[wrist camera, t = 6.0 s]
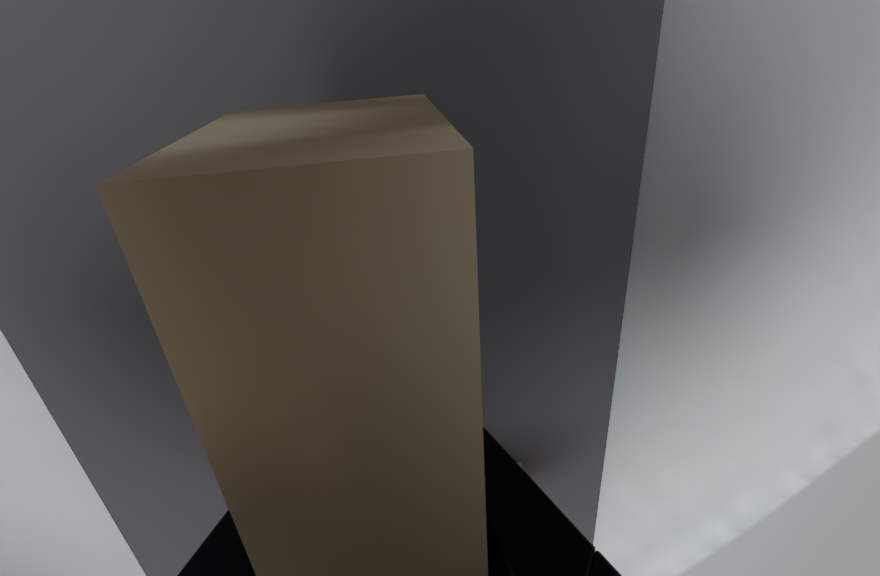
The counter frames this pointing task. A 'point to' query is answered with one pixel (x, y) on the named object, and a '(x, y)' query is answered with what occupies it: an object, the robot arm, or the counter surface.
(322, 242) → the beech scraper
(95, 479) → the charcoal mat
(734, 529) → the counter surface
